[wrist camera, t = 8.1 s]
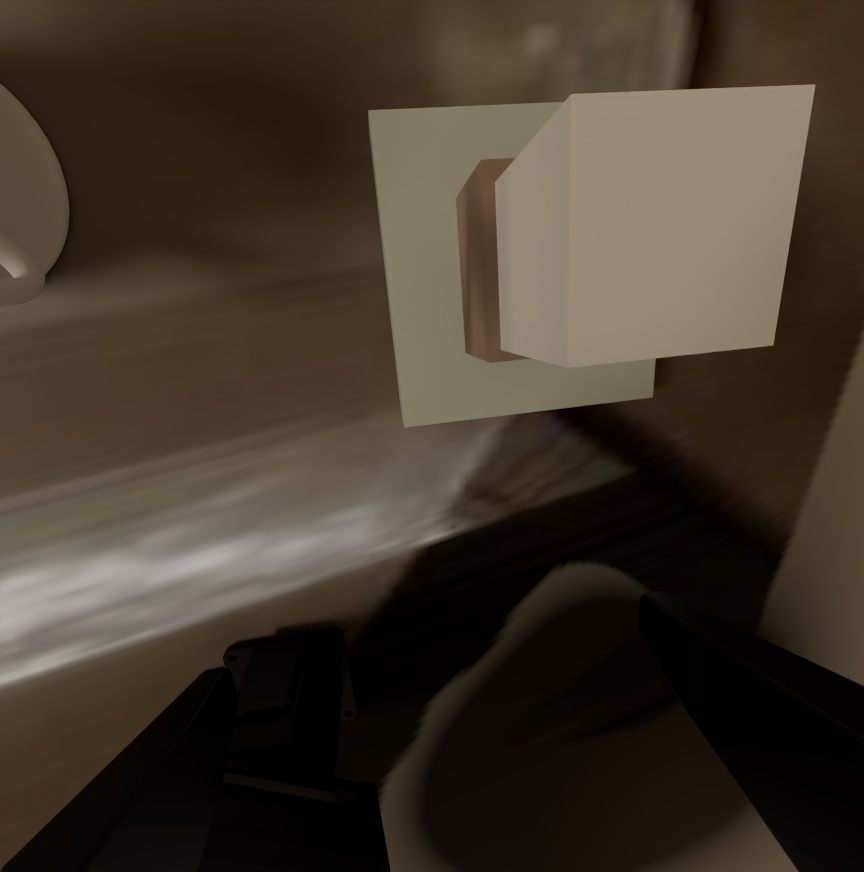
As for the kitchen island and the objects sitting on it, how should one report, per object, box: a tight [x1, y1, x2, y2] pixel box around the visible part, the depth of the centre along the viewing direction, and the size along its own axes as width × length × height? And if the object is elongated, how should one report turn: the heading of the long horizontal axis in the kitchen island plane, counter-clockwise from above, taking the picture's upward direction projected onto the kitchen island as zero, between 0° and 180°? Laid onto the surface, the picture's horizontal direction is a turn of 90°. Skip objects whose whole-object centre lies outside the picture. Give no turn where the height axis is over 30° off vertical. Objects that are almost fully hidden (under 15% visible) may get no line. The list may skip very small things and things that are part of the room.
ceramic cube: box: [495, 85, 815, 368], centre depth 11 cm, size 5×5×5 cm
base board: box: [368, 102, 656, 427], centre depth 18 cm, size 12×12×2 cm
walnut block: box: [456, 158, 532, 363], centre depth 15 cm, size 6×6×4 cm
